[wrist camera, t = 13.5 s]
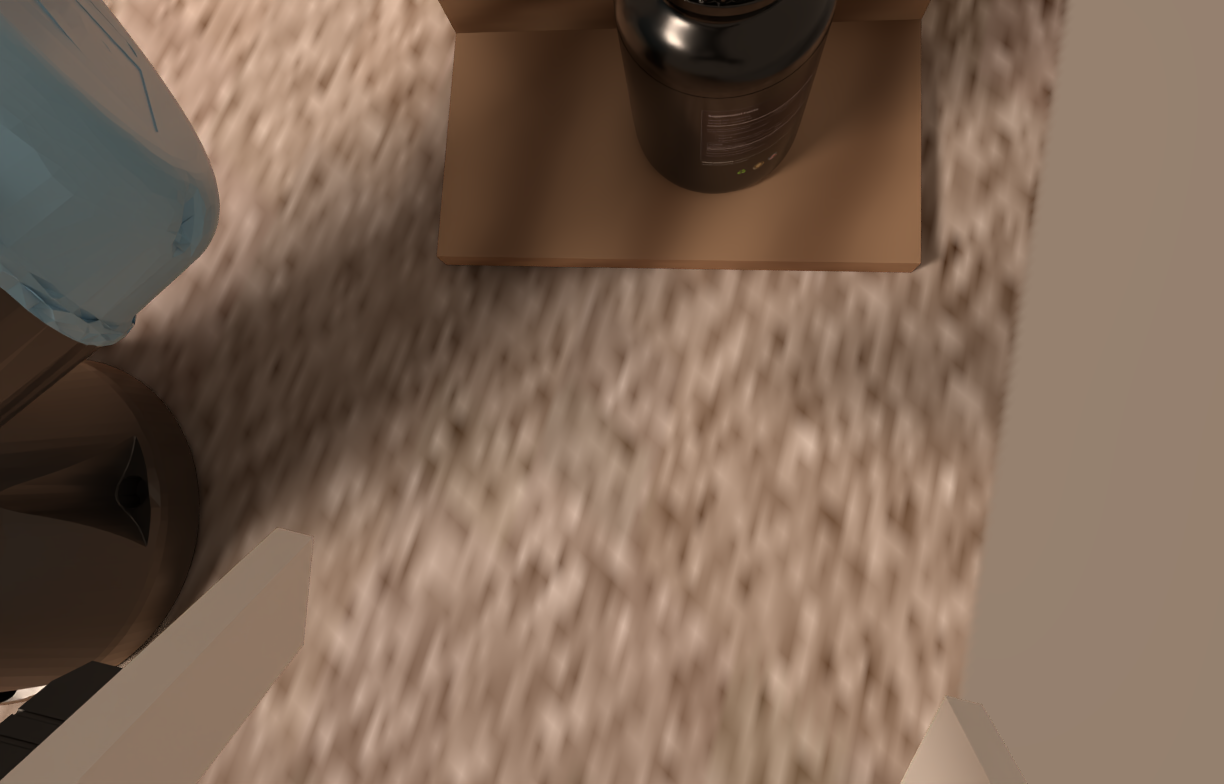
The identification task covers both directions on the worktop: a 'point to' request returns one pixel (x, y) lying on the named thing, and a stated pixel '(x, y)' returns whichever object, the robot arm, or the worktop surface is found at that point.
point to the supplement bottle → (719, 83)
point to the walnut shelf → (630, 186)
